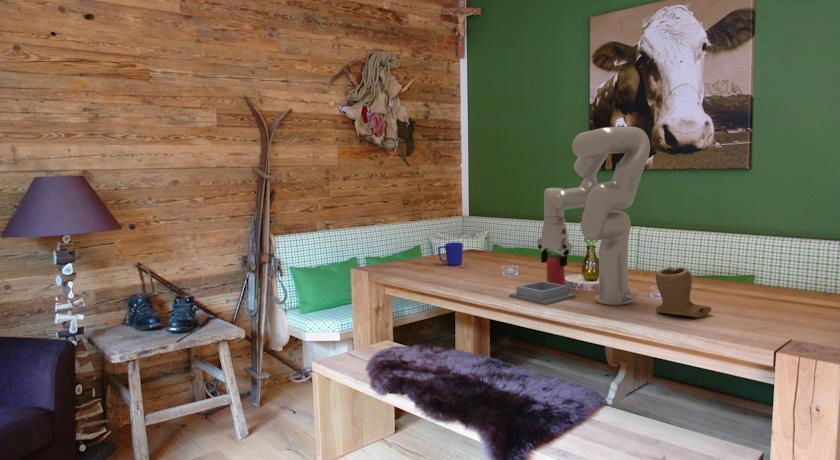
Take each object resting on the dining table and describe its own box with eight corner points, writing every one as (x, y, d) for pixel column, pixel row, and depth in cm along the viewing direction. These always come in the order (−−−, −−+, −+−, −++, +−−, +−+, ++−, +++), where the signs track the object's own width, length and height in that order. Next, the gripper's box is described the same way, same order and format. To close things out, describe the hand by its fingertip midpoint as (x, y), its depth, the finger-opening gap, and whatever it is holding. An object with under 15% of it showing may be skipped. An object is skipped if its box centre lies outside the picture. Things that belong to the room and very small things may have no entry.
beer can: (564, 288, 251) (564, 257, 250) (547, 288, 253) (546, 257, 251) (564, 284, 258) (563, 254, 256) (547, 285, 259) (546, 254, 257)
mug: (436, 264, 314) (435, 244, 312) (459, 262, 317) (459, 241, 316) (441, 267, 306) (440, 246, 304) (466, 265, 309) (465, 244, 308)
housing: (576, 297, 237) (576, 286, 236) (545, 305, 227) (545, 293, 227) (539, 289, 251) (539, 279, 251) (508, 296, 242) (508, 286, 241)
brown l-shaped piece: (648, 315, 209) (647, 268, 207) (666, 307, 217) (666, 262, 215) (695, 323, 198) (695, 274, 196) (712, 315, 206) (713, 267, 204)
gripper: (578, 221, 247) (578, 266, 250) (544, 217, 261) (544, 259, 264) (564, 223, 243) (564, 269, 246) (530, 219, 257) (530, 262, 259)
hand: (554, 264), depth 255 cm, fingers open, 9 cm apart
